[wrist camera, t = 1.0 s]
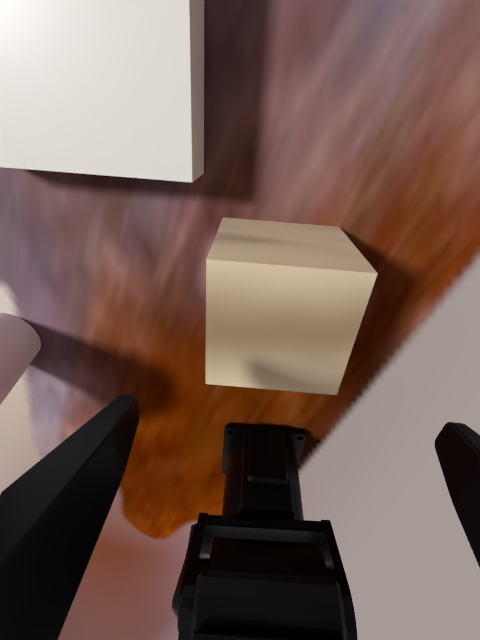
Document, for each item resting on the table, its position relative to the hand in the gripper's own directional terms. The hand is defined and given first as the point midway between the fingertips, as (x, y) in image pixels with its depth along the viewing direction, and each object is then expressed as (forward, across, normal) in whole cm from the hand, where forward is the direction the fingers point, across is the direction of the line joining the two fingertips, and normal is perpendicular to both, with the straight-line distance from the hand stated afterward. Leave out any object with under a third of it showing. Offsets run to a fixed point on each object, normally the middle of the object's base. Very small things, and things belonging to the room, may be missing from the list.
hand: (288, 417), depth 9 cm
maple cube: (+10, 0, 0) cm, 10 cm away
